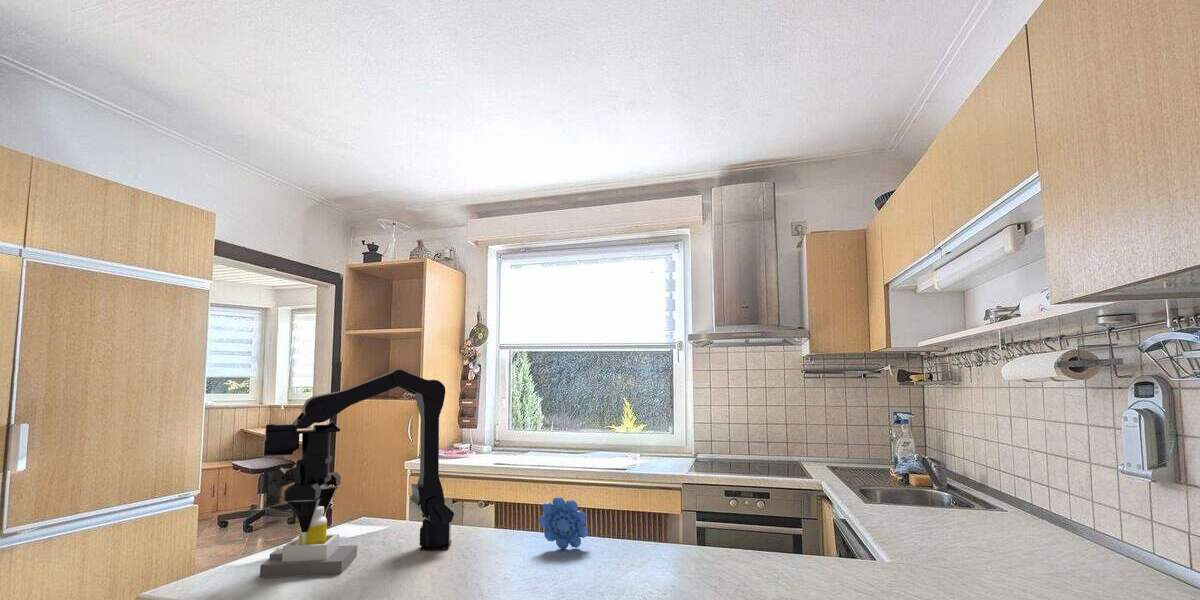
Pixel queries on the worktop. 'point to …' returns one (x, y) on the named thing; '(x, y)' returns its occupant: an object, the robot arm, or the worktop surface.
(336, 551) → the stepped tray stack
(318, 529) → the supplement bottle
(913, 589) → the worktop surface
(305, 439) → the robot arm
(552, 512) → the blue flower
